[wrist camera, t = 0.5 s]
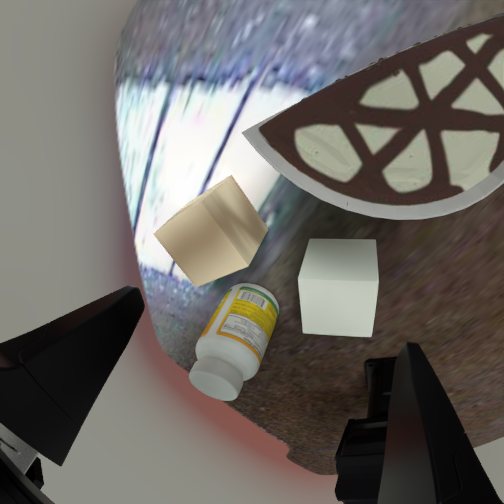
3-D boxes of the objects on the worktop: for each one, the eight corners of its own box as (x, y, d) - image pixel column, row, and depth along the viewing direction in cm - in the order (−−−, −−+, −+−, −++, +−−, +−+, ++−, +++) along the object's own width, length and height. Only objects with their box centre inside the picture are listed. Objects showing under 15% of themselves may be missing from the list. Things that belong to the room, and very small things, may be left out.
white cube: (371, 291, 23) (371, 337, 19) (313, 289, 24) (302, 333, 21) (375, 238, 20) (378, 281, 16) (309, 238, 22) (297, 278, 18)
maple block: (268, 228, 23) (248, 266, 19) (221, 250, 25) (196, 287, 21) (231, 174, 21) (201, 201, 17) (186, 203, 24) (153, 233, 20)
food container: (336, 188, 19) (320, 279, 11) (287, 109, 17) (228, 140, 9) (488, 120, 12) (580, 168, 5) (447, 33, 11) (527, 6, 3)
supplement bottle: (266, 276, 25) (224, 366, 18) (288, 320, 27) (259, 407, 20) (216, 285, 28) (167, 364, 20) (241, 325, 30) (204, 402, 22)
